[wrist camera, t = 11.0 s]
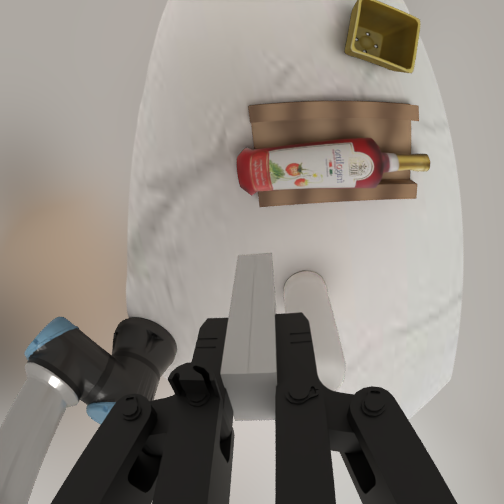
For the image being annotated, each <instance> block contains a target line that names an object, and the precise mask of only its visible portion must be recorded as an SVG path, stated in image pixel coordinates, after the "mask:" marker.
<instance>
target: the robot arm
mask: <svg viewBox="0 0 504 504" xmlns="http://www.w3.org/2000/svg"><path fill="white" fill-rule="evenodd" d="M195 347H196V349H195V350H194V354H193V359H192V362H191V363H185V364H183V365H180V366H178V367H177V368H176V369H174V370H173V371H172V372H171V374H170V376H169V377H168V381H169V383H170V385H171V386H172V388H173V390H174V392H175V395H173V396H170V397H167V398H163V399H158V400H154V396H155V393H156V390H157V386H158V383H159V380H160V377H161V376H162V374H163V373H164V372H165V371H166V369H167V368H168V367H169V366H170V365H171V364H172V362H173V361H174V358H175V355H176V352H177V346H176V343H175V341H174V339H173V337H172V336H171V335H170V334H169V333H168V332H167V331H166V330H165V329H164V328H162V327H161V326H159V325H158V324H156V323H154V322H152V321H149V320H146V319H142V318H128V319H125V320H123V321H122V322H120V324H119V325H118V327H117V328H116V330H115V333H114V339H113V350H112V355H110V354H109V353H108V352H106V351H105V350H104V349H102V348H101V347H100V346H99V345H97V344H96V343H95V342H94V341H92V340H91V339H90V338H89V337H88V336H86V335H85V334H84V333H83V332H82V331H80V330H79V328H78V327H77V326H75V325H73V324H72V323H71V322H70V321H68V320H67V319H66V318H64V317H57V318H55V319H54V320H52V321H51V322H50V323H49V324H48V325H47V326H46V327H45V328H44V329H43V330H42V331H41V332H40V333H39V334H38V335H37V337H36V338H35V339H34V340H33V342H31V344H30V345H29V346H28V348H27V349H26V351H25V356H26V358H27V359H28V362H27V364H26V365H25V370H26V374H27V380H26V381H25V383H24V385H23V387H22V389H21V390H20V392H19V394H18V395H17V397H16V399H15V401H14V403H13V404H12V406H11V408H10V410H9V412H8V414H7V416H6V418H5V420H4V422H3V424H2V426H1V428H0V504H28V501H29V498H30V495H31V492H32V489H33V486H34V483H35V481H36V478H37V475H38V473H39V470H40V467H41V465H42V462H43V460H44V457H45V455H46V453H47V450H48V447H49V445H50V443H51V441H52V438H53V436H54V434H55V431H56V429H57V427H58V425H59V422H60V420H61V418H62V416H63V414H64V412H65V410H66V408H67V407H70V406H75V405H77V404H78V402H79V400H81V401H83V402H84V403H86V404H87V408H86V409H87V414H88V416H90V417H91V419H93V420H94V421H96V422H97V423H99V424H101V425H100V427H99V428H98V430H97V431H96V433H95V434H94V436H93V438H92V439H91V441H90V442H89V444H88V445H87V447H86V448H85V450H84V451H83V453H82V455H81V456H80V458H79V459H78V461H77V462H76V464H75V465H74V467H73V469H72V470H71V472H70V473H69V475H68V477H67V478H66V480H65V481H64V483H63V485H62V486H61V488H60V490H59V491H58V493H57V495H56V496H55V498H54V499H53V501H52V503H51V504H151V503H152V504H229V496H230V484H231V471H232V459H233V446H234V430H233V427H232V423H233V416H234V419H235V421H243V420H244V421H249V420H275V421H276V422H275V423H276V501H275V502H276V503H275V504H336V500H335V488H334V478H333V468H332V459H331V450H332V451H338V452H340V454H341V456H342V458H343V460H344V463H345V465H346V467H347V470H348V472H349V474H350V476H351V478H352V481H353V483H354V485H355V488H356V490H357V492H358V494H359V497H360V499H361V501H362V503H363V504H457V502H456V500H455V499H454V497H453V495H452V493H451V492H450V490H449V488H448V486H447V485H446V483H445V481H444V479H443V477H442V476H441V474H440V472H439V470H438V469H437V467H436V465H435V464H434V462H433V460H432V459H431V457H430V455H429V454H428V452H427V450H426V448H425V447H424V445H423V443H422V442H421V440H420V439H419V437H418V436H417V434H416V432H415V430H414V429H413V427H412V425H411V424H410V422H409V421H408V419H407V417H406V416H405V414H404V413H403V411H402V409H401V408H400V406H399V405H398V403H397V401H396V400H395V398H394V397H393V396H392V395H391V394H390V393H389V392H388V391H387V390H385V389H383V388H381V387H367V388H363V389H361V390H359V391H358V392H356V393H355V395H353V394H346V393H339V392H336V391H332V390H330V389H328V388H327V387H326V386H324V385H323V384H322V382H321V381H320V380H319V377H318V374H317V367H316V361H315V354H314V348H313V343H312V336H311V330H310V324H309V320H308V319H307V318H306V317H305V315H304V314H303V313H302V312H299V313H286V314H276V300H275V287H274V274H273V262H272V253H264V254H251V255H238V260H237V266H236V272H235V279H234V285H233V292H232V298H231V305H230V312H229V318H208V319H207V320H206V321H205V322H204V324H203V325H202V326H201V327H200V330H199V334H198V340H197V342H196V346H195ZM152 501H153V502H152Z"/></svg>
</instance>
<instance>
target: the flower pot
mask: <svg viewBox="0 0 504 504" xmlns="http://www.w3.org/2000/svg"><path fill="white" fill-rule="evenodd" d="M419 32H420V20H419V19H418V18H416V17H414V16H412V15H410V14H408V13H405V12H403V11H401V10H399V9H396V8H394V7H392V6H389V5H387V4H384V3H382V2H379V1H377V0H357V2H356V4H355V6H354V7H353V9H352V13H351V19H350V25H349V31H348V36H347V41H346V46H345V53H346V54H347V55H350V56H353V57H356V58H359V59H362V60H365V61H368V62H371V63H374V64H377V65H379V66H382V67H384V68H387V69H389V70H392V71H398V72H405V73H412V72H413V70H414V65H415V60H416V53H417V46H418V39H419ZM366 33H369V34H370V35H369V36H367V35H366ZM355 38H358V41H355ZM374 45H377V46H378V47H377V48H375V46H374ZM363 50H366V53H364V52H363Z"/></svg>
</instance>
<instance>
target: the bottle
mask: <svg viewBox="0 0 504 504" xmlns="http://www.w3.org/2000/svg"><path fill="white" fill-rule="evenodd" d="M284 302H285V314H286V313H299V312H302V313H303V314H304V315H305V317H306V318H307V319H308V320H309V324H310V330H311V336H312V343H313V348H314V354H315V361H316V367H317V374H318V377H319V380H320V381H321V382H322V384H323V385H324V386H326V387H327V388H328V389H330V390H332V391H336V390H337V389H338V388H339V387H340V386H341V385H342V383H343V381H344V377H345V371H346V363H345V359H344V355H343V350H342V346H341V342H340V338H339V334H338V330H337V326H336V322H335V318H334V315H333V311H332V307H331V303H330V300H329V296H328V290H327V287H326V285H325V282H324V280H323V279H322V277H321V276H319V275H318V274H317V273H314V272H310V271H303V272H299V273H296V274H294V275H292V276H291V277H290V278H289V279H288V280H287V282H286V283H285V286H284Z"/></svg>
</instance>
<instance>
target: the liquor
mask: <svg viewBox="0 0 504 504" xmlns="http://www.w3.org/2000/svg"><path fill="white" fill-rule="evenodd" d="M429 168H430V160H429V157H428V155H427V154H411V155H404V154H394V153H383V152H381V150H380V148H379V146H378V145H377V143H376V142H375V141H374V140H373V139H372V138H355V139H339V140H329V141H320V142H312V143H304V144H295V145H286V146H278V147H270V148H262V149H254V150H252V149H249V148H247V147H246V148H245V149H244V150H243V151H242V152H241V153H240V154H239V155H238V157H237V174H238V180H239V184H240V187H241V188H242V189H244V190H245V191H246V192H248V193H249V194H250V195H251V196H252V195H253V194H255V193H256V192H260V191H273V190H289V189H325V188H329V189H343V188H376V187H377V185H378V184H379V182H380V181H381V179H382V176H383V173H386V172H394V171H402V170H413V171H428V170H429Z"/></svg>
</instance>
